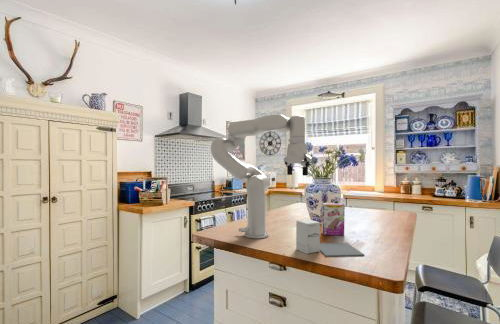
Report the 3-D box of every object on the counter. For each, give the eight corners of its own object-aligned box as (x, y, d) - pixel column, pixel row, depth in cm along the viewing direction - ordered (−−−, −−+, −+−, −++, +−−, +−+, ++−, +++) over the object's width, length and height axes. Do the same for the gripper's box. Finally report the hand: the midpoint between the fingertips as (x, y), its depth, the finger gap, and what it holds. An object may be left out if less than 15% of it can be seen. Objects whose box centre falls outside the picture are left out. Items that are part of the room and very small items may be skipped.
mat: (325, 256, 104) (325, 255, 104) (313, 244, 120) (313, 243, 120) (364, 255, 105) (364, 254, 105) (346, 244, 121) (346, 242, 121)
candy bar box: (323, 235, 136) (323, 204, 136) (321, 233, 141) (321, 202, 141) (344, 236, 135) (344, 204, 135) (342, 233, 140) (342, 203, 140)
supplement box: (306, 254, 106) (306, 223, 107) (295, 249, 113) (295, 220, 113) (320, 251, 110) (320, 222, 110) (308, 246, 116) (308, 218, 117)
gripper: (279, 141, 133) (279, 174, 132) (306, 138, 119) (306, 175, 119) (289, 142, 138) (289, 174, 137) (316, 139, 124) (316, 175, 124)
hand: (297, 175), depth 128 cm, fingers open, 9 cm apart
